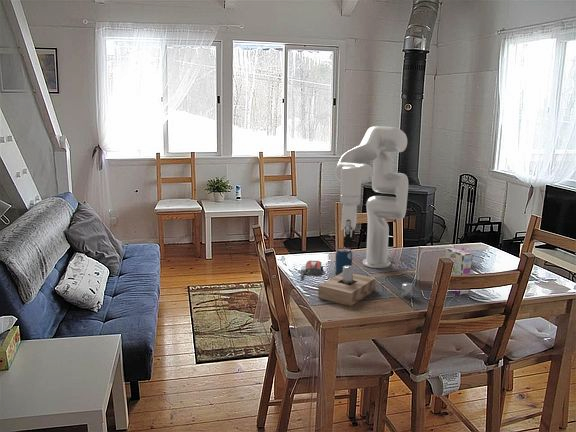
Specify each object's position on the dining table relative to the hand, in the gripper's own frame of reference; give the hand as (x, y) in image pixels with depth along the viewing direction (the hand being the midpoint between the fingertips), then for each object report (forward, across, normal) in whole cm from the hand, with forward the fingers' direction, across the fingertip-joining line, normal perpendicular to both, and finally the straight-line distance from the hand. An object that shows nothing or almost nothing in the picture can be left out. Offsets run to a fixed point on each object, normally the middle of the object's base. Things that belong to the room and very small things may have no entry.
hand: (349, 243), depth 201 cm
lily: (+22, -50, +47) cm, 72 cm away
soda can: (+21, -19, -4) cm, 29 cm away
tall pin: (+20, 0, 0) cm, 20 cm away
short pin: (+20, -2, +23) cm, 30 cm away
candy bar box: (+21, -13, +42) cm, 48 cm away
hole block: (+20, +1, 0) cm, 20 cm away
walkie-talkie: (+21, -22, -18) cm, 35 cm away
